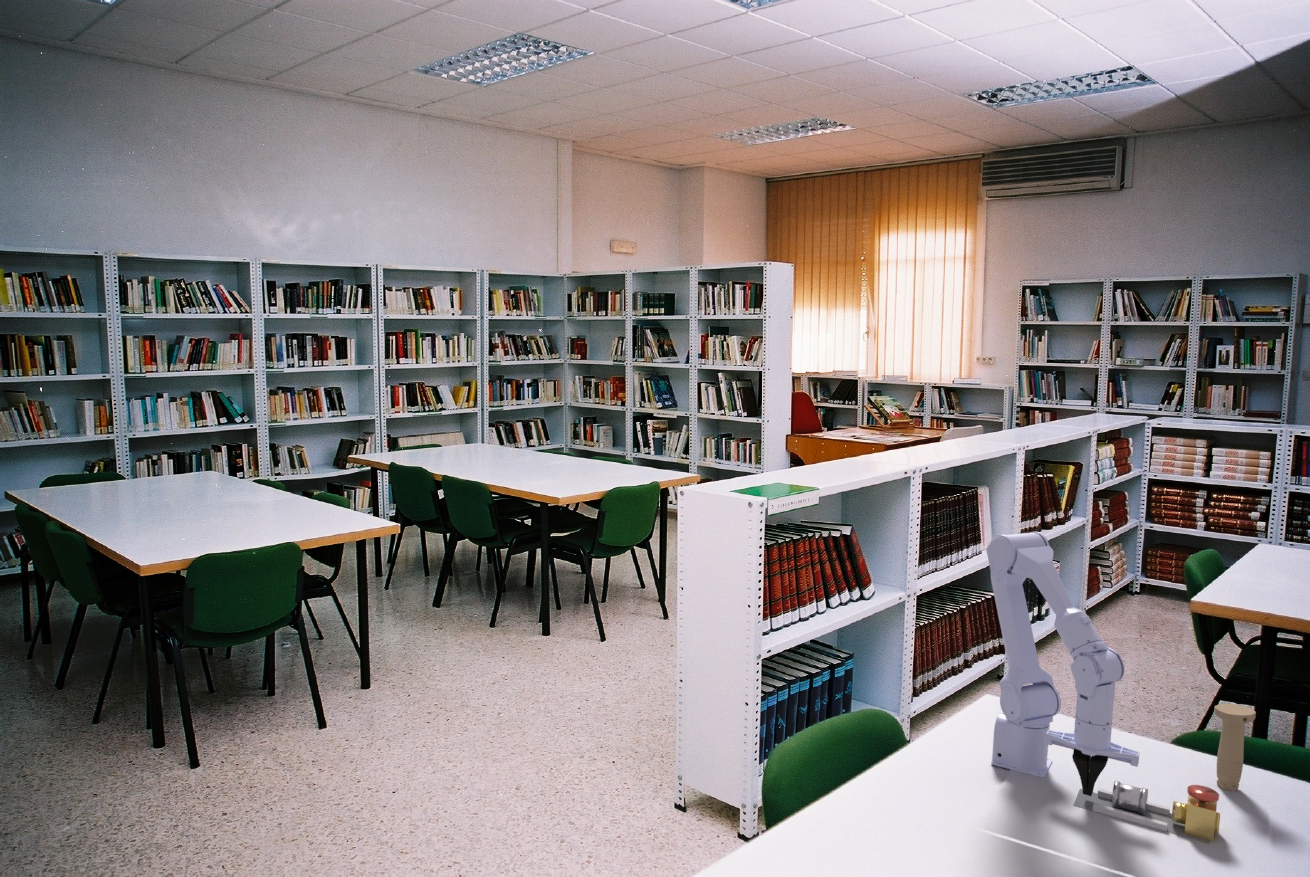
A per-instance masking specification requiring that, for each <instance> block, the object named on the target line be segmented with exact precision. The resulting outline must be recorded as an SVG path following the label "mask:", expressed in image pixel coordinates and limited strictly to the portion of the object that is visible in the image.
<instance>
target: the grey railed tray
mask: <svg viewBox="0 0 1310 877" xmlns="http://www.w3.org/2000/svg"><path fill="white" fill-rule="evenodd" d="M1112 794H1113V791H1109V790H1107V789H1102V788H1098V790H1097V792H1095V791H1093V793H1092V796H1088V795H1085V794H1083V790H1082V788H1079V790H1078V793H1077V795H1076V798H1075V801H1074V803H1073V806H1074V807H1077V808H1081V809H1083V810H1087V811H1091V812H1095V813H1097V814H1101V815H1105V816H1109V817H1111V818H1116V819H1119V820H1123V821H1127V822H1131V823H1134V824H1137V825H1141V826H1144V827H1148V828H1151V829H1155V830H1157V831H1162V832H1165V833H1170V834H1173V835H1177V836H1180V837H1183V838H1187V839H1191V840H1194V841H1198V842H1202V843H1205V844H1209V845H1210V842H1211V841H1208V840H1204V839H1200V838H1197V837H1193V836H1190V835H1186V834H1184V833H1185V824H1181V823H1177V822H1174V821H1172V812H1171V807H1170V806H1166V805H1161V804H1158V803H1155V802H1151V801H1148V800H1147V807H1146V814H1145V815H1142V814H1139V813H1138V812H1134V811H1131V810H1127V809H1124V808H1120V807H1117V808H1116V807H1113V806H1112Z"/></svg>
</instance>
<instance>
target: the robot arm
mask: <svg viewBox="0 0 1310 877" xmlns="http://www.w3.org/2000/svg"><path fill="white" fill-rule="evenodd" d="M986 555H987V560H988V565H989V569H990V582H991V587H992V591H993V595H994V596H993V597H994V601H995V606H996V611H997V616H998V621H999V625H1000V630H1001V636H1002V639H1003V646H1004V650H1005V651H1004V652H1005V656H1006V659H1007V660H1006V661H1007V664H1008V665H1007V666H1008V671H1007V672H1006V673H1005V675H1003V677H1002V678H1001V680H1000V681H999V688H1000V696H999V705H1000V709H1001V711H1002V712H999V713H998V714H997V716H996V719H995V723H994V729H993V739H992V740H993V741H992V742H993V743H992V756H991V757H992V758H991V763H990V764H991V765H992V766H996V767H999V768H1004V769H1007V770H1013V771H1017V772H1021V773H1025V774H1028V775H1032V776H1035V777H1039V778H1043V779H1044V778H1045V777H1046V776H1047V774H1048V772H1049V769H1050V767H1051V765H1052V763H1053V760H1052V759H1050V758H1048V752H1049V746H1053V745H1054V746H1057V747H1058V746H1059V747H1061V748H1062V747H1063V748H1067V749H1070V750H1073V752H1072V761H1073V763H1074V766H1075V767H1076V769H1077V772H1078V775H1079V779H1080V783H1081V789H1082V790H1083V794H1085V795H1088V796H1092V793H1093V792H1094V788H1095V784H1096V782H1097V780H1098V778H1099V776H1100V775H1101V773H1102V772H1103V771H1104V769H1105V767H1107V763H1108V761H1109V759H1111V760H1115V761H1119V762H1123V763H1127V764H1129V765H1130V766H1132V767H1136V768H1138V767H1139V764H1140V751H1137V750H1134V749H1131V748H1127V747H1125V746H1123V745H1120V744H1118V743H1114V742H1111V740H1112V732H1113V731H1112V728H1113V718H1114V707H1115V706H1114V702H1115V695H1116V694H1115V693H1116V683H1117V682H1119V681H1121V680H1122V679H1123V678H1124V676H1125V664H1124V662H1123V659H1122V656H1121V655H1120V653H1118V651H1116V650H1115V649H1113V648H1111V647H1110V646H1109V645H1108V644H1107V643H1105V642H1103V640H1102V638H1101V636H1100V635H1099V632H1098V631H1097V629H1096V628H1095V626H1094V625H1093V623H1092V619H1091V618H1090V616H1089V615H1087V612H1085V611H1084V610H1081V609H1078V608H1077V607H1075V605H1074V604H1073V601H1072V599H1071V597H1070V595H1069V593H1068V591H1067V589H1066V587H1065V585H1064V583H1063V580H1062V579H1061V577H1060V575H1059V573H1058V571H1057V568H1056V566H1055V565H1054V562H1053V560H1054V556H1055V555H1054V550H1053V548H1052V547H1051V546H1050V543H1049V541H1048V539H1047V537H1046V536H1045V535H1044V534H1042V533H1041V532H1039V531H1030V532H1022V533H1015V534H997V535H995V536H994V537H992V539H991V541H990V542H989V544H988V546H987V547H986ZM1026 579H1030V580H1032V582H1033V583H1034V585H1035V586H1036V588H1037V589H1038V590H1039V592H1040V594H1041V595H1042V596H1043V599H1044V600H1045V601H1046V603H1047V604H1048V605H1049V607H1050V608H1051V610H1052V612H1053V613H1054V614H1055V619H1054V628H1055V629H1056V631H1057V633H1058V634H1059V637H1060V638H1061V640H1062V642H1063V644H1064V646H1065V648H1066V649H1067V650H1068V652H1069V654H1070V656H1071V658H1072V660H1073V662H1072V663H1070V671H1071V674H1072V676H1073V677H1074V681H1075V682H1074V683H1075V686H1074V687H1075V689H1076V690H1075V692H1076V702H1075V703H1076V704H1075V718H1074V719H1075V720H1074V731H1073V733H1072V732H1062V731H1056V730H1055V731H1054V730H1052V729H1051V730H1050V726H1051V723H1052V722H1054V717H1055V716H1056V715H1058V714H1059V712H1060V711H1061V706H1062V700H1061V696H1060V693H1059V692H1058V690H1057V688H1056V686H1055V684H1054V681H1053V676H1052V675H1051V674H1050V673H1049V672H1047V671H1046V670H1044V669H1043V668H1041V666H1040V663H1039V657H1038V653H1037V648H1036V643H1035V638H1034V632H1033V629H1032V623H1031V619H1030V614H1029V609H1028V604H1027V600H1026V595H1025V591H1024V586H1023V584H1024V582H1025V581H1026Z"/></svg>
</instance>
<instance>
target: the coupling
mask: <svg viewBox="0 0 1310 877" xmlns="http://www.w3.org/2000/svg"><path fill="white" fill-rule="evenodd" d="M1112 792H1113V794H1112V806H1113V807H1116V808H1117V807H1120V808H1124V809H1127V810H1131V811H1134V812H1138V813H1139V814H1142V815H1145V814H1146V807H1147V801H1148V797H1149V788H1145V787H1142V788H1141V787H1137V786H1134V785H1130V784H1127V783H1123V782H1121V781H1119V780H1114V783H1113V788H1112Z"/></svg>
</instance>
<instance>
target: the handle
mask: <svg viewBox="0 0 1310 877" xmlns="http://www.w3.org/2000/svg"><path fill="white" fill-rule="evenodd" d="M1213 711H1214V715H1215V716H1217V717H1218V718H1219V719H1221V720H1222V726H1221V730H1220V731H1221V733H1220V738H1219V744H1218V745H1219V746H1218V750H1217V755H1216V756H1217V757H1216V778H1217V779H1216V786H1217V787H1219V788H1220V789H1222V790H1224V791H1230V792H1236V791H1237V790H1239V786H1240V784H1239V783H1240V780H1241V778H1242V772H1243V767H1244V749H1245V748H1244V747H1245V746H1244V743H1245V727H1246V724H1249V723H1251V722H1253V721H1254V720H1256V714H1257V712H1256V711H1255V709H1252V708H1250V707H1249V706H1245V705H1242V704H1235V703H1234V704H1233V703H1222V704H1221V703H1220V704H1217V705H1214V710H1213Z"/></svg>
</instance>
